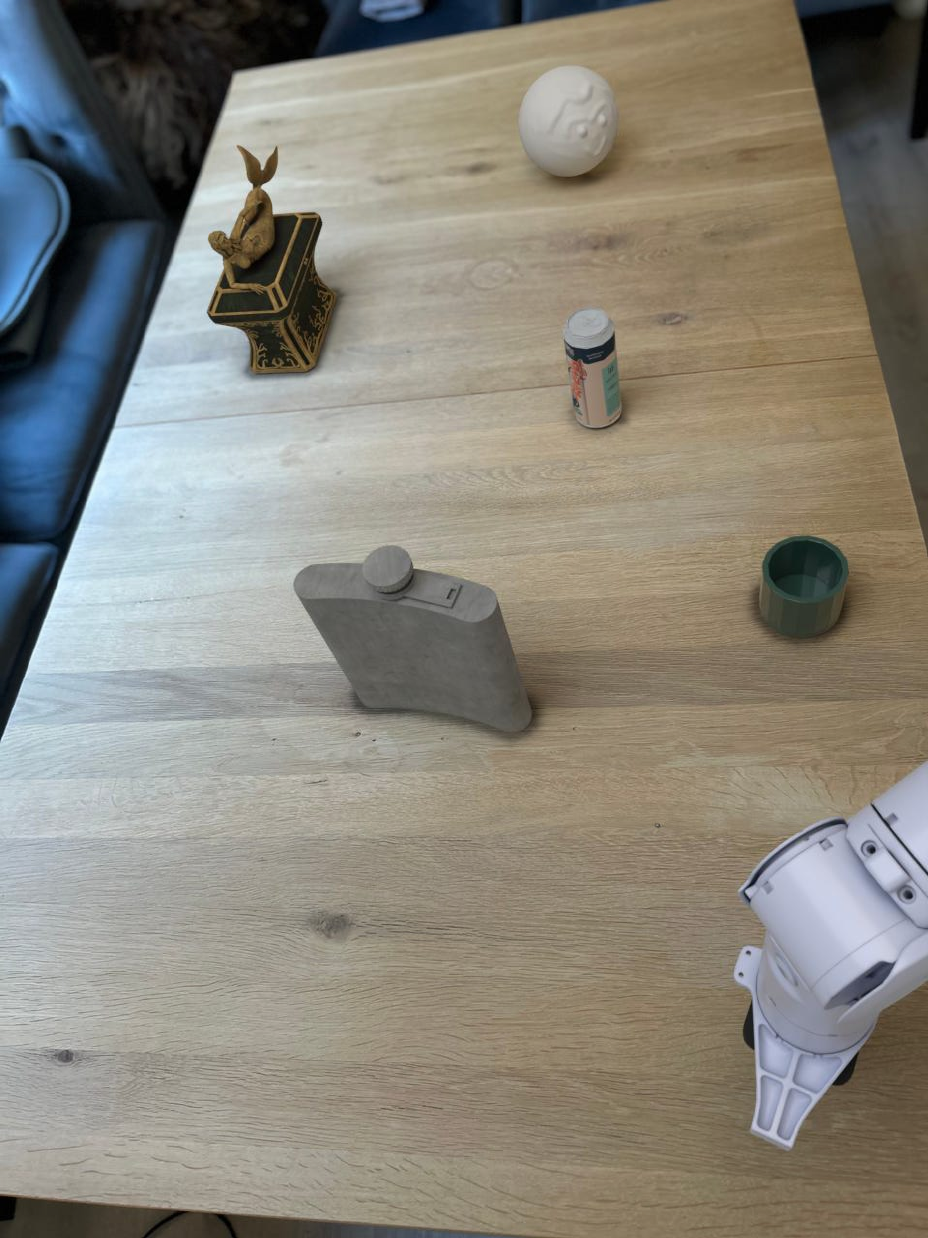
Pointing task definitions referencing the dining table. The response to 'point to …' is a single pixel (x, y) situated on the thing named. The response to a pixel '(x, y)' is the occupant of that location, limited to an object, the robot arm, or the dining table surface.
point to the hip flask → (417, 638)
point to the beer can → (593, 367)
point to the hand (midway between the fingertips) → (800, 1028)
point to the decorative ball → (568, 121)
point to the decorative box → (272, 280)
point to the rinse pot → (802, 586)
